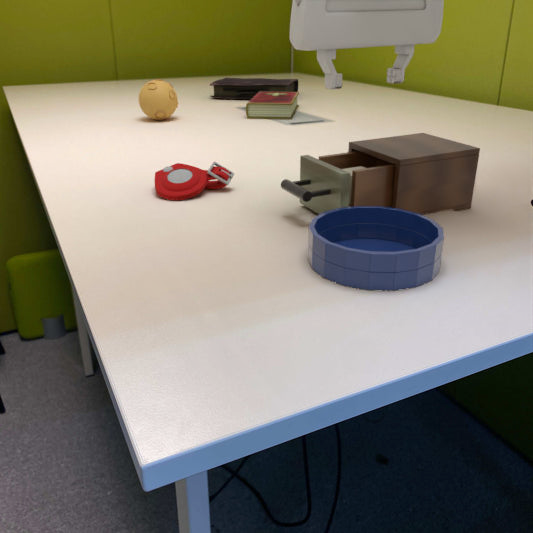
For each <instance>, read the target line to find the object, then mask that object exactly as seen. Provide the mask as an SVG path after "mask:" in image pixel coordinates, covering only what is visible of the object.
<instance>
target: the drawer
mask: <svg viewBox="0 0 533 533" xmlns="http://www.w3.org/2000/svg"><path fill="white" fill-rule="evenodd" d="M299 158H300V161H299V162H300V164H299V180H294V181H292V180H290V179H287V178H286V179H283V180H282V181H281V183H280V188H281V189H282V190H284V191H285V192H288V193H289V194H291V195H292V196H294V197H296V198H298V199H299V204H301V205H303V206H304V207H305V208H308V209H309V210H311V211H313V212H314V213H316V214H318V215H319V214H321V213H323V212H326V211H330V210H334V209H337V208H343V207H353V206H382V207H390V208H392V201H393V191H394V180H395V170H396V164H393V163H390V162H388V161H385V160H382V159H379V158H377V157H374V156H371V155H368V154H366V153H363V152H360V151H355V152H348V151H347V152H340V153H332V154H326V155H319V156H318V158H316V157H314V156H311V155H309V154H304V155H300V157H299ZM359 166H362V167H365V169H359V170H353V171H352V187H351V204H349V186H350V173H349V172H347V171H344V170H342V169H346V168H352V167H359Z"/></svg>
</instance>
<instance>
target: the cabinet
mask: <svg viewBox="0 0 533 533" xmlns="http://www.w3.org/2000/svg"><path fill="white" fill-rule="evenodd" d="M355 151H360V152H363V153H366V154H368V155H371V156H374V157H377V158H379V159H382V160H385V161H388V162H390V163H393V164H396V170H395V180H394V191H393V201H392V208H398V209H403V210H407V211H411V212H415V213H418V214H421V215H423V216H425V215H430V214H434V213H440V212H444V211H450V210H452V211H455V212H459V211H462V210H468V209H471V208H472V202H473V196H474V191H475V190H474V189H475V184H476V177H477V172H478V171H477V170H478V166H479V158H480V151H481V148H480V147H477V146H473V145H470V144H467V143H462V142H458V141H456V140H451V139H448V138H444V137H440V136H437V135H433V134H429V133H425V132H419V133H410V134H402V135H394V136H388V137H379V138H371V139H362V140H355V141H348V150H347V152H355Z"/></svg>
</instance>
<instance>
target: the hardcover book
mask: <svg viewBox="0 0 533 533" xmlns="http://www.w3.org/2000/svg"><path fill="white" fill-rule="evenodd" d="M299 93H300V92H299V91H298V92H258V93H257V94H256V95H255V96H254V97H253V98H252V99H249V101H248V102H246V106H245V116H246V118H247V120H249V119H251V120H252V119H253V120H254V119H255V120H264V119H265V120H293V118H294V116H295V114H296V112H297V110H298V108H299V106H300V105H299V104H298V96H299Z"/></svg>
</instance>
